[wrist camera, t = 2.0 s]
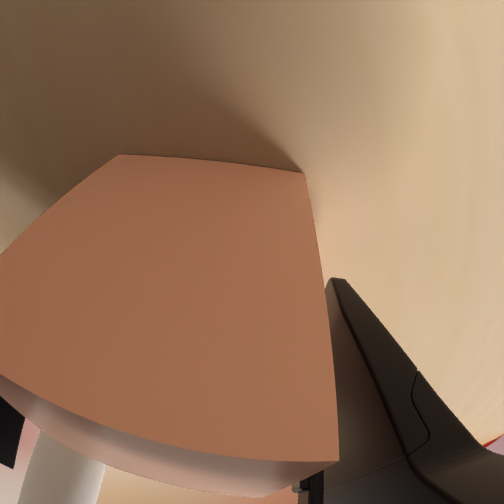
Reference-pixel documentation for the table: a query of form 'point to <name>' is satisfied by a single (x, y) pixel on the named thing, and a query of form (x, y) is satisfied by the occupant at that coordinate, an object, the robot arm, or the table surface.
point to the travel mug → (60, 475)
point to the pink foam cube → (175, 325)
